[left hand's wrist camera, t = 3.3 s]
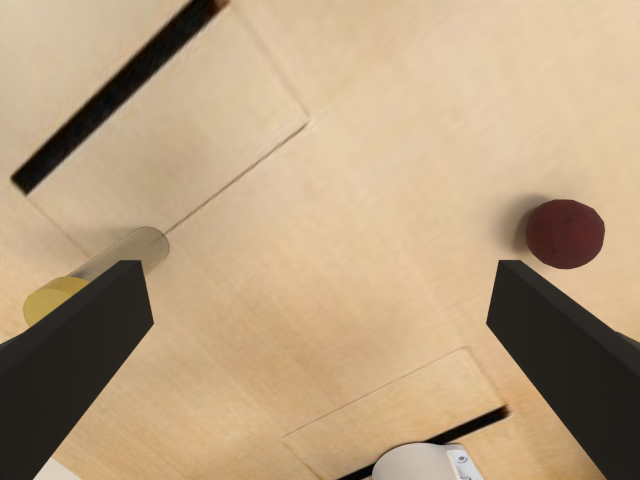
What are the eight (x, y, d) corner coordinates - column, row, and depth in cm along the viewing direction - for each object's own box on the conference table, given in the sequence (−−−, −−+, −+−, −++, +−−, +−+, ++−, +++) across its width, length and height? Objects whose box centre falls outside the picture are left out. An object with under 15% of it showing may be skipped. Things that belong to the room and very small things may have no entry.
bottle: (158, 269, 43) (77, 348, 29) (123, 248, 42) (22, 319, 28) (176, 241, 42) (101, 310, 28) (141, 219, 41) (44, 278, 27)
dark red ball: (527, 263, 43) (564, 291, 36) (502, 213, 41) (537, 233, 34) (584, 232, 41) (634, 255, 35) (562, 179, 39) (611, 193, 33)
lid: (92, 339, 31) (75, 356, 29) (34, 308, 30) (13, 323, 28) (117, 298, 29) (102, 312, 27) (58, 264, 28) (37, 276, 26)
